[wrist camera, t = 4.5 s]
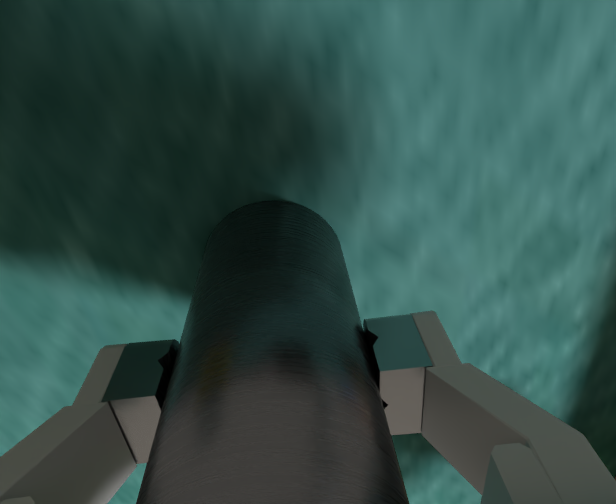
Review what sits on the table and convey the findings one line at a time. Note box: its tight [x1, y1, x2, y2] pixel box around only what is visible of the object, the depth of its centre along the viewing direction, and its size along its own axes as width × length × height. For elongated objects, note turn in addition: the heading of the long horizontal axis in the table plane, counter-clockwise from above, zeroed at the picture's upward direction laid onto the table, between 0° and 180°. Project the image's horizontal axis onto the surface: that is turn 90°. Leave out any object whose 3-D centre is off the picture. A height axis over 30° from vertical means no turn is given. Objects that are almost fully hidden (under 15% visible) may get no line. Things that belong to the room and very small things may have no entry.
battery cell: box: [136, 201, 409, 504], centre depth 9 cm, size 4×4×10 cm
